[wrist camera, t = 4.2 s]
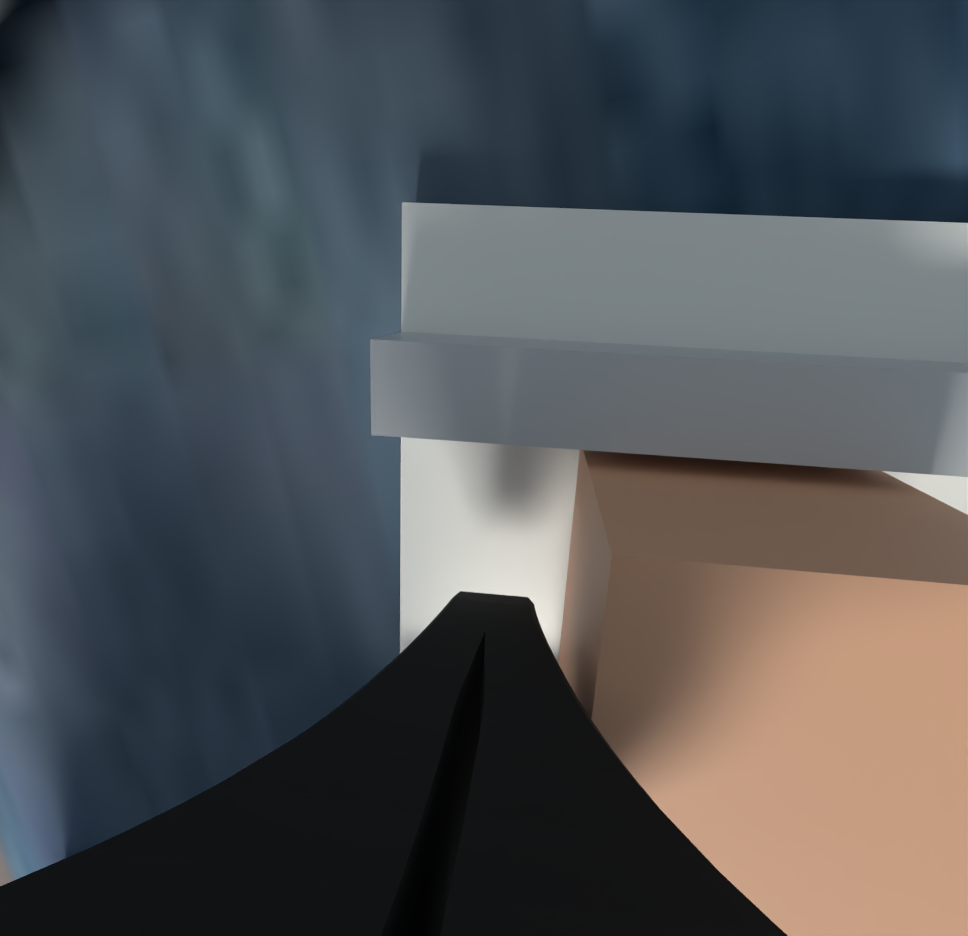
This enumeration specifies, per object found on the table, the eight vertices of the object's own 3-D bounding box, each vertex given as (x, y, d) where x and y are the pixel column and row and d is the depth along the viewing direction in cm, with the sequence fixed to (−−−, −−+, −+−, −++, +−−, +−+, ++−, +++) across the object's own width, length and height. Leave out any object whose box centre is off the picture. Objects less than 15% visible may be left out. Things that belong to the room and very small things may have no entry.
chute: (408, 788, 15) (362, 956, 11) (414, 210, 11) (345, 163, 7) (1243, 889, 13) (1524, 1126, 10) (1622, 256, 9) (2385, 227, 5)
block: (554, 704, 12) (561, 958, 8) (580, 439, 11) (611, 555, 6) (790, 730, 12) (953, 1013, 7) (859, 458, 10) (1132, 598, 5)
